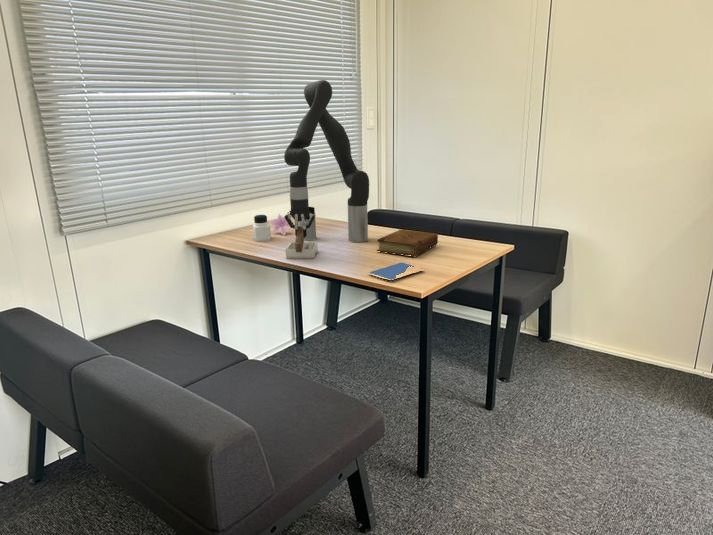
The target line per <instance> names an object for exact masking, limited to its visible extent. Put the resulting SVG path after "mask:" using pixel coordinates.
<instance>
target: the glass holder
mask: <svg viewBox="0 0 713 535" xmlns="http://www.w3.org/2000/svg"><path fill="white" fill-rule="evenodd" d="M290 211H291V210H289V211H287V214H286V215H288V214H289V213H290ZM309 211H310V213H311V214H313V215H314V214H315V215H316V211H315V207H314V206H309ZM310 220H311V219H310V216H308V217H307V219H306V225H308V224H309V222H310ZM316 222H317V221H316V217H315V218H314V220H313V222H312V224H311V226H310V228H307V236H306V237H305V238H304V242H314V241H316V240H318V237H317V229H316V228H317V226H316V225H317V224H316ZM298 226H303V224H302V221H299V224H298Z"/></svg>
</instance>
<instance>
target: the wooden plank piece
mask: <svg viewBox="0 0 713 535" xmlns="http://www.w3.org/2000/svg"><path fill="white" fill-rule="evenodd" d="M294 242H295V249H296V252H302V248H303V243H304V242H305V241H304V234H303V226H299V225H298V231H297V235H296V236H295V241H294Z"/></svg>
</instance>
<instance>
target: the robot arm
mask: <svg viewBox="0 0 713 535" xmlns="http://www.w3.org/2000/svg"><path fill="white" fill-rule="evenodd" d="M303 95H304V99H305V101H306V103H307V104H308V105H307V106H308V107H309V108H310V109H308V111H307V113H306V114H305V115H304V116H303V118H302V120H301V121H300V123H299V124H298V127H297V130H296V132H295V136H294V138H293V139H292V140H291V142H290V144H289V145H288V146H287V148H286V149H285V152H284V155H283V156H284V157H283V159H284V162H285V163H286V165H288V166H292V167H294V166H295V167H297V171H292V172H290V173H289V202H290V204H289V205H290V210H289V211H290V212H289V213H288V215H287V214H285V215H284V216H285V219H286V221H287V222H288V224H289V226H290V227H289V228H291V229H294V231H295V232H294V233H295V237H296V235H297V231H298V226H299V221H302V224H303V234H304V238H305V237H306V236H307V228H310V226H311V224H312V222H313V220H314V218H315V219H316V216H317V215H316V213H315V214H314V215H313V214H311V213H310V211H309V207H310V205H309V191H308V171H309V168H310V163H311V155H310V154H311V153H310V152H309V150H308V149H307V148H309V147H310V146H311V144H312V141H313V138H314V135H315V133H316V130H317V127H318V124H319V126H320V129H321V130H322V133H323V134H324V137H325V139H326V142H327V144H328V145H329V146H328V147H329V148H330V150H331V152H332V154H333V157H334V159H335V161H336V163H337V164H338V167H339V169H340V170H339V171H340V172H341V175H342V179H343V181H344V183H345V186H346V187H347V188H349V189H350V190H351V191H350V197H349V198H347V223H348V224H347V232H348V233H347V234H348V238H347V239H348V241H349V242H350V241H351V243H365V242H364V241H367V242H369V241H368V240H369V236H368V234H369V230H368V229H369V228H368V227H369V226H368V225H369V224H368V223H369V220H368V200H369V197H370V179H369V175H368V173H367V172H366V171H363V170H359V169H358V167H357V166H356V164H355V162H354V160H353V157H352V156H353V155H352V152H351V151H352V148H351V142H350V139H349V136H348V134H347V132H346V130H345V128H344V126H343V125H342V124H341V123H340V122H339V121H338V119H336V118H335V117H333V116H332V115H331V114H330V113H329V111H328V109H327V106H328V105H329V103H330V101H331V99H332V96H333V88H332V84H330V82H329V81H327V80H325V79H320V80H317V81H314V82H311V83H308V84H306V85H305V87H304V89H303ZM308 216H310V219H311V220H310V222H309V224H308V225H306V219H307V217H308ZM291 217H292V219H293V220H294V223H293V221H292V220H291Z"/></svg>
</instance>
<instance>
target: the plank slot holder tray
mask: <svg viewBox="0 0 713 535" xmlns="http://www.w3.org/2000/svg"><path fill="white" fill-rule="evenodd" d="M318 250H319V248H318V241H304V243H303V248H302V252H296V249H295V241H294V242H293V241H290V242H289V244H288V245H287V246H286V248H285V250H284V251H285V259H286V258H291V260H292V259H295V260H298V259H299V260H300V259H305V260H306V259H307V260H309V259H311V260H312V259H315V257H316V256H317V253H318Z"/></svg>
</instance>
